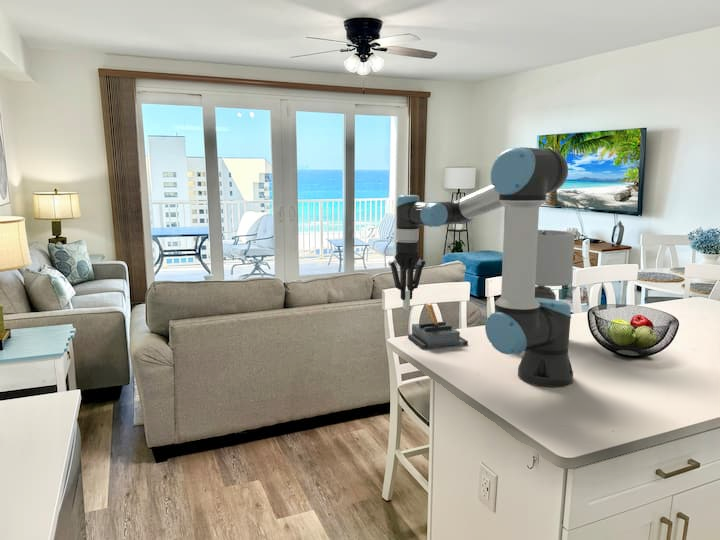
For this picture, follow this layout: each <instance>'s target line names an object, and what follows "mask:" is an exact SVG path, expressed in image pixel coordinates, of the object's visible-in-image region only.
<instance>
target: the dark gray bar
mask: <svg viewBox="0 0 720 540" xmlns="http://www.w3.org/2000/svg"><path fill="white" fill-rule="evenodd" d="M407 339H408V340H409V341H410V342H412V343H413V344H415V345H416V346H417V347H419V348H420V349H421V350H426V349H427V348H426V344H424V343H423V342H422V341H420V340H419V339H417V338H416V337H415V336H413V335H412V333H410V334H407Z"/></svg>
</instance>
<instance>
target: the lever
mask: <svg viewBox="0 0 720 540" xmlns="http://www.w3.org/2000/svg"><path fill="white" fill-rule="evenodd" d="M425 305H426V308H427V311H428V314H429V317H430V320H431V323H432V324H433V325H435V326H439V324H438V322H439V321H438V319H437V316H436V313H435V310H434V307H433V304H432V303H430V302H426V303H425Z"/></svg>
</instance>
